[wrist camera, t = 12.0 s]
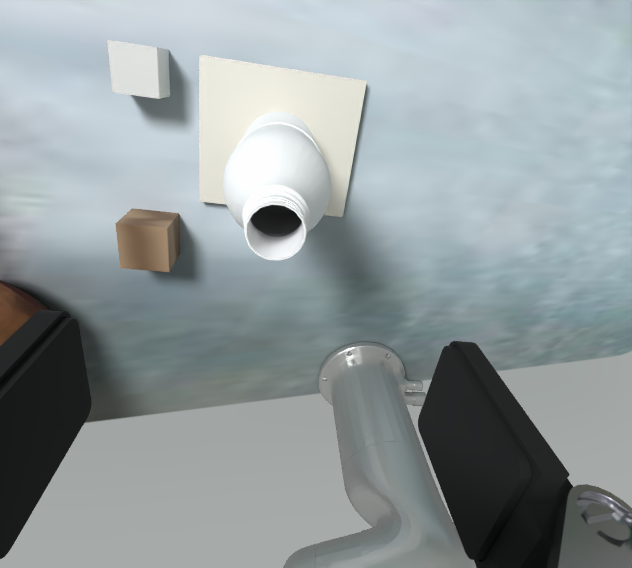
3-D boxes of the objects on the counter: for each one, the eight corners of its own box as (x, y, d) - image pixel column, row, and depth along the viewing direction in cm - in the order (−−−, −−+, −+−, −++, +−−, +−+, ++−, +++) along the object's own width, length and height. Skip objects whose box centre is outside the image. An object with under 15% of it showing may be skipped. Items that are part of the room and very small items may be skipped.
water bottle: (301, 190, 43) (321, 311, 21) (237, 169, 41) (185, 276, 19) (323, 123, 40) (373, 184, 18) (254, 98, 38) (217, 130, 16)
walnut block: (178, 213, 44) (167, 228, 40) (180, 253, 47) (169, 272, 42) (132, 208, 44) (115, 223, 39) (136, 249, 46) (120, 267, 42)
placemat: (364, 80, 39) (366, 81, 38) (341, 214, 46) (342, 217, 45) (201, 55, 37) (199, 54, 36) (201, 198, 44) (199, 201, 43)
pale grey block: (168, 49, 37) (156, 47, 33) (170, 96, 39) (159, 98, 35) (124, 42, 36) (107, 39, 33) (128, 90, 38) (112, 92, 35)
